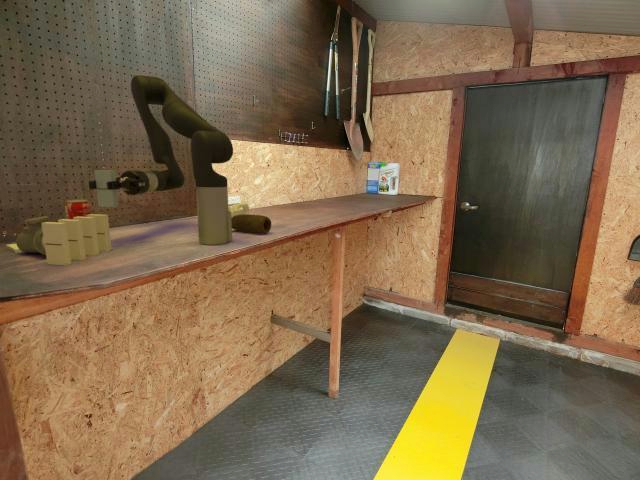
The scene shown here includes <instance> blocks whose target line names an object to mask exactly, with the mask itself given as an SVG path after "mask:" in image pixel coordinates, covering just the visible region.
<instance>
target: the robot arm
mask: <svg viewBox="0 0 640 480" xmlns="http://www.w3.org/2000/svg"><path fill="white" fill-rule="evenodd" d="M130 90H131V94H132V97H133V102H134V104H135V107H136V109H137V112H138V114H139V116H140V119H141V122H142V125H143V127H144V130H145V131H146V135H147V137H148V141H149V142H148V143H149V146H150V150H151V154H152V158H153V161H154V162H155V164H156V165H164V166H166V167H167V169H164V170H160V171H159V170H145V169H140V170H138V169H136V170H132V169H131V170H126V171H123V172H122V174H121V175H120V176H115V178H116V181H110V182H107V189H108V190H115V189H117V191H123V192H124V193H125V194H127V195H129V196H137V195H138V196H139V195H144V194H145V195H146V194H149V193H153V192H155V193H156V192H164V191H169V190H175V189H180V188H182V187H183V186H184V184H185V175H184V173H183V171H182V169H181V167H180V165H179V163H178V161H177V159H176V157H175V154H174V150H173V145H172V141H171V138H170V136H169V134H168V132H167V131H166V130H165V129H164V127H163V126H162V125H161V124H160V123H159V122H158V120H157V119H156V118H155V116H154V115H153V113H152V111H151V109H150V106H149V105H152V106H153V105H155V106H161V116H162V118H163V121H164V122H165V123H166V124H167V125H168V126H169V127H170V128H171V129H172V130H173V131H174V132H176V133H177V134H178V135H179V136H183V137H184V138H188V139H190V154H191V163H192V172H193V178H194V181H195V190H196V191H195V193H196V212H197V229H198V231H197V232H198V233H197V235H198V243H199V244H202V245H209V246H210V245H211V246H212V245H223V244H227V243H230V242H233V229H232V221H231V211H228V206H229V191H228V190H229V189H228V186H229V185H228V178H227V176H225V175H222V174H220V173H218V172H216V171H215V169H214V167H213V164H225V163H228V162H230V161H231V159H232V157H233V155H234V147H233V143H232V141H231V139H230V137H228V135H227V134H226V133H224V132H223V131H222V130H220V129H218V128H216V127H215V126H214V125H212V124H211V123H210V122H208V121H207V120H206V119H204V117H202V116H201V115H200V114H199V113H197V112H196V111H195V110H194V109H193V108H192V107H191V106H190V105H189V104H188V103H187V102H186V101H184V100H183V99H182V98H180V96H178V95H177V94H176V93H175V92H174V91H173V89H172V88H171V87H170V86H169V84H168V83H167V82H166V81H165V80H164V79H162V78H161V77H158V76H151V75H139V74H138V75H137V74H136V75H134V76H133V77H132V78H131V81H130ZM88 188H89V189H90V190H97V186H96V180H95V179H93V180H89V181H88Z"/></svg>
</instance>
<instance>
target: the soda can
mask: <svg viewBox="0 0 640 480" xmlns="http://www.w3.org/2000/svg"><path fill="white" fill-rule="evenodd" d="M64 211H65V212H64V213H65V214H64V215H65V219H73V217H78V216H79V217H87V215H89V214H93V210H92V205H91V203H90V202H89V199H68V200H66V203H65V206H64Z"/></svg>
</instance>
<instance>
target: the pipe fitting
mask: <svg viewBox="0 0 640 480" xmlns="http://www.w3.org/2000/svg"><path fill="white" fill-rule="evenodd" d="M50 220H51V219H50V217H49V215H43V216H38V217H34V218H33V217H32V218H28V219H26V220H24V223H25V225H27V226H24V227H23V228H22V232H21V233H19V234H18V236H17V237H16V241H15V244H17V247H18V248H19V249H20V250H21V251H23V252H22V253H26V254H38V253H40V255H43V256H46V251H45V244H44V237H43V231H42V224H41V223H44V222H50Z"/></svg>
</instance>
